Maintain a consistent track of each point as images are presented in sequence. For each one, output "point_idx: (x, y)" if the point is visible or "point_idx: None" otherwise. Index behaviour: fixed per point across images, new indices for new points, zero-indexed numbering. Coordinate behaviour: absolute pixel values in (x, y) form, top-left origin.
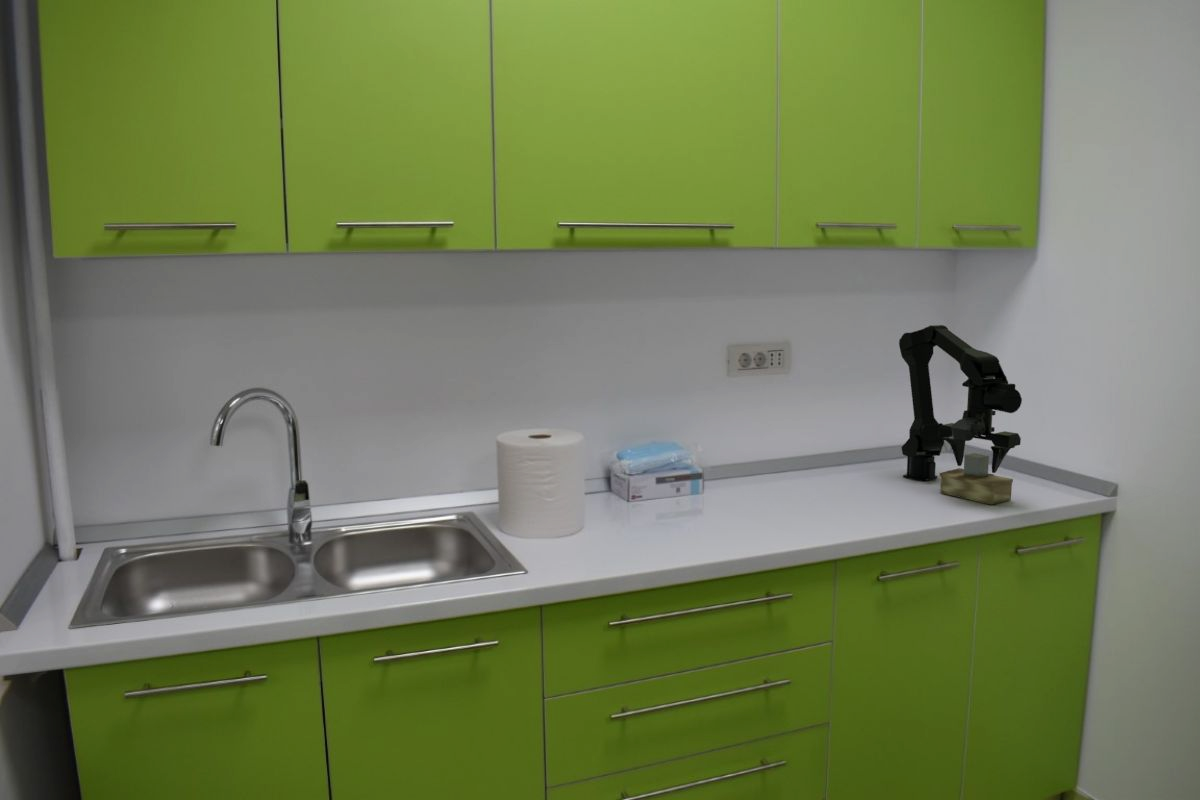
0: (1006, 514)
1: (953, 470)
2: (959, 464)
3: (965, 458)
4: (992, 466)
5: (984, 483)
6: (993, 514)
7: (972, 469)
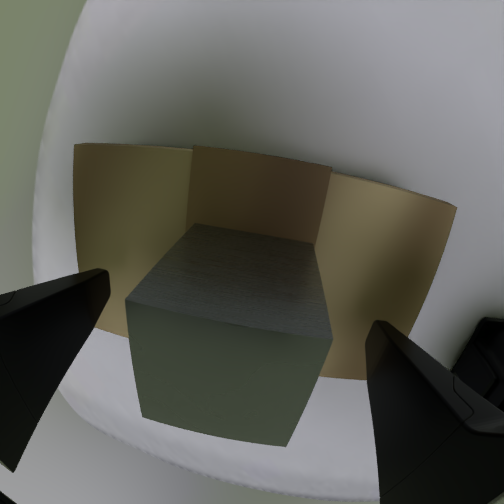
0: (64, 79)
1: (403, 322)
2: (375, 327)
3: (316, 315)
4: (75, 280)
5: (123, 145)
6: (91, 41)
7: (235, 252)
